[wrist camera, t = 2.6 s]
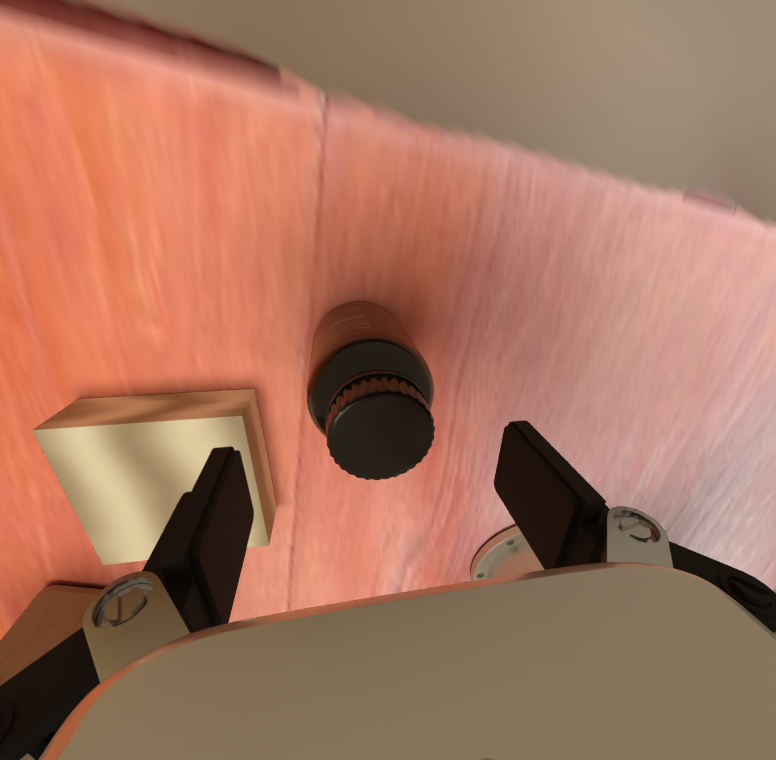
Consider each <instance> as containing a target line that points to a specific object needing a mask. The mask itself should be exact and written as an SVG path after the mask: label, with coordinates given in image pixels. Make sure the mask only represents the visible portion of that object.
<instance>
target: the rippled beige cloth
mask: <svg viewBox="0 0 776 760" xmlns="http://www.w3.org/2000/svg"><path fill="white" fill-rule="evenodd" d="M32 432H33V433H34V435H35V437H36V439H37V441H38V443H39V445H40V447H41V449H42V450H43V452H44V454H45V456H46V458H47V460H48V462H49V464H50V466H51V468H52V469H53V471H54V473H55V475H56V477H57V479H58V481H59V483H60V485H61V486H62V488H63V490H64V492H65V494H66V496H67V498H68V500H69V502H70V504H71V505H72V507H73V509H74V511H75V513H76V515H77V517H78V519H79V521H80V522H81V524H82V526H83V528H84V530H85V532H86V534H87V536H88V538H89V539H90V541H91V543H92V545H93V547H94V549H95V551H96V553H97V555H98V557H99V558H100V560H101V562H102V564H103V565H109V564H117V563H126V562H134V561H142V560H148V559H149V557H150V555H151V553H152V551H153V549H154V547H155V545H156V544H157V542H158V540H159V538H160V536H161V534H162V532H163V530H164V528H165V526H166V524H167V523H168V521H169V519H170V517H171V515H172V513H173V511H174V509H175V507H176V505H177V503H178V502H179V500H180V498H181V496H182V495H183V494H184V493H185V492H190V491H192V489H193V487H194V485H195V483H196V481H197V479H198V477H199V475H200V473H201V471H202V469H203V467H204V465H205V463H206V461H207V459H208V457H209V455H210V453H211V451H212V449H213V448H218V447H229V446H232V447H233V448H234V450H239V451H240V453H241V457H242V461H243V465H244V470H245V474H246V478H247V483H248V487H249V491H250V495H251V500H252V504H253V509H254V520H253V524H252V528H251V532H250V536H249V541H248V545H247V548H250V547H258V546H266V545H269V543H270V538H271V533H272V528H273V523H274V518H275V513H276V508H277V506H276V501H275V495H274V490H273V484H272V479H271V473H270V468H269V462H268V457H267V451H266V446H265V440H264V435H263V429H262V424H261V418H260V413H259V407H258V402H257V396H256V391H255V389H240V390H223V391H206V392H189V393H172V394H155V395H138V396H120V397H103V398H86V399H77V400H76V401H74V402H73V403H71V404H70V405H68V406H67V407H65V408H64V409H62V410H61V411H59V412H58V413H57V414H55V415H54V416H52V417H51V418H49V419H48V420H46V421H45V422H43V423H42V424H40V425H39V426H37V427H36V428H34V429H33V430H32Z"/></svg>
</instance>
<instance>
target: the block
mask: <svg viewBox="0 0 776 760" xmlns="http://www.w3.org/2000/svg"><path fill="white" fill-rule="evenodd" d="M102 590H103V589H95V588H84V587H74V586H64V585H51V586H47V587H45V588H44V589H43V590H41V591H40V592H39V593H38V594H37V596H36V597H35V598H34V599H33V600H32V602H31V603H30V604H29V605H28V607H27V608H26V609H25V610H24V612H23V613H22V614H21V615H20V617H19V618H18V619H17V620H16V622H15V623H14V624H13V625H12V627H11V628H10V629H9V630H8V632H7V633H6V634H5V635H4V637H3V638H2V639H1V640H0V686H1V685H2V684H3V683H5V682H6V681H8V680H9V679H10V678H12V677H13V676H15V675H16V674H17V673H19V672H20V671H22V670H23V669H24V668H26V667H27V666H29V665H30V664H31V663H33V662H34V661H36V660H37V659H38V658H40V657H41V656H43V655H44V654H45V653H47V652H48V651H50V650H51V649H52V648H54V647H55V646H57V645H58V644H59V643H61V642H62V641H64V640H65V639H66V638H68V637H69V636H71V635H72V634H73V633H75V632H76V631H78V630H79V629H80V628H82V627H83V617H84V614H85V612H86V609H87V607H88V606H89V605H90V603H91V602H92V600H93V599H94V598H95V597H96V596H97V595H98V594H99V593H100V592H101V591H102Z"/></svg>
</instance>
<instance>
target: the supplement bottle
mask: <svg viewBox="0 0 776 760" xmlns="http://www.w3.org/2000/svg"><path fill="white" fill-rule="evenodd" d="M433 397H434V384H433V378H432V375H431V372H430V370H429V367H428V365H427V364H426V362H425V360H424V358H423V357H422V355H421V354H420V353H419V351H418V350H417V348H416V347H415V345H414V344H413V343H412V341H411V340H410V338H409V337H408V335H407V334H406V333H405V331H404V330H403V328H402V327H401V325H400V324H399V323H398V321H397V320H396V319H395V318H394V317H393V316H392V315H391V314H390V313H389V312H388V311H386V310H385V309H383V308H381V307H379V306H377V305H374V304H371V303H365V302H354V303H348V304H345V305H342V306H340V307H338V308H336V309H334V310H332V311H331V312H330V313H328V314H327V315H326V316H325V317H324V318H323V320H322V321H321V322H320V324H319V326H318V327H317V329H316V332H315V335H314V338H313V344H312V351H311V359H310V367H309V375H308V383H307V405H308V410H309V413H310V415H311V418H312V420H313V422H314V424H315V425H316V427H317V428H318V429H319V430H320V432H321V433H322V434H323V435H324V436H325V437H326V438H327V447H328V448H329V450H330V455H331V456H332V457H333V458H334V461H335V463H336V464H338V465H340V467H341V469H343V470H346V471H347V472H348V473H349V474H351V475H355V476H356V477H357V478H364V479H366V480H370V479H374V480H379V479H388V478H390V477H397V476H398V475H400V474H403V473H406V472H407V471H408V470H409V469H412V468H414V467H415V466H416V464H418V463H419V462H421V461H422V459H423V457H424V456H426V455H427V453H428V450H429V449H430V447H431V446H432V441H433V439H434V434H433V433H434V431H435V426H434V424H433V423H434V418H433V416H432V414H431V412H430V409H431V406H432V402H433Z"/></svg>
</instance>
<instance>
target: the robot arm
mask: <svg viewBox="0 0 776 760" xmlns="http://www.w3.org/2000/svg"><path fill="white" fill-rule="evenodd" d="M494 486H495V490H496V492H497V493H498V495H499V497H500V498H501V500H502V502H503V503H504V505H505V506H506V508H507V510H508V511H509V513H510V515H511V516H512V518H513V519H514V521H515V523H516V524H517V526H515V527H512V528H510V529H507V530H505V531H504V532H502V533H500V534H498V535H497V536H495V537H494V538H493V539H491V540H490V541H489V542H488V543H487V544H486V545H484V546H483V547H482V548H481V550H480V551H479V553H478V554H477V555H476V557H475V559H474V561H473V563H472V567H471V579H472V581H470V582H464V583H457V584H451V585H445V586H439V587H432V588H426V589H420V590H414V591H408V592H402V593H395V594H389V595H383V596H377V597H371V598H365V599H359V600H353V601H347V602H341V603H335V604H329V605H323V606H317V607H311V608H305V609H299V610H294V611H289V612H283V613H278V614H272V615H267V616H261V617H256V618H251V619H245V620H240V621H236V622H232V623H228V622H229V618H230V614H231V610H232V606H233V602H234V598H235V594H236V590H237V586H238V582H239V577H240V573H241V569H242V565H243V561H244V557H245V553H246V549H247V545H248V541H249V536H250V532H251V528H252V524H253V520H254V509H253V504H252V500H251V495H250V491H249V487H248V483H247V478H246V474H245V470H244V465H243V461H242V457H241V453H240V451H239V450H234V448H233V447H232V446H229V447H218V448H213V449H212V451H211V453H210V455H209V457H208V459H207V461H206V463H205V465H204V467H203V469H202V471H201V473H200V475H199V477H198V479H197V481H196V483H195V485H194V487H193V489H192V491H190V492H185V493H184V494H183V495H182V496H181V498H180V500H179V502H178V503H177V505H176V507H175V509H174V511H173V513H172V515H171V517H170V519H169V521H168V523H167V524H166V526H165V528H164V530H163V532H162V534H161V536H160V538H159V540H158V542H157V544H156V545H155V547H154V549H153V551H152V553H151V555H150V557H149V559H148V561H147V563H146V565H145V566H144V568H143V570H142V571H139V572H134V573H131V574H128V575H125V576H123V577H121V578H119V579H117V580H115V581H114V582H112V583H111V584H109V585H108V586H107V587H105V588H104V589H103V590H102V591H101V592H100V593H99V594H98V595H97V596H96V597H95V598H94V599H93V600H92V602H91V603H90V605H89V606H88V607H87V609H86V612H85V614H84V617H83V627H82V628H80V629H79V630H78V631H76V632H75V633H73V634H72V635H71V636H69V637H68V638H66V639H65V640H64V641H62V642H61V643H59V644H58V645H57V646H55V647H54V648H52V649H51V650H50V651H48V652H47V653H45V654H44V655H43V656H41V657H40V658H38V659H37V660H36V661H34V662H33V663H31V664H30V665H29V666H27V667H26V668H24V669H23V670H22V671H20V672H19V673H17V674H16V675H15V676H13V677H12V678H10V679H9V680H8V681H6V682H5V683H3V684H2V685H1V686H0V760H776V593H775V592H774V591H772V590H771V589H770V588H769V587H768V586H766V585H765V584H764V583H762V582H761V581H759V580H758V579H756V578H754V577H753V576H751V575H749V574H747V573H745V572H743V571H740V570H738V569H735V568H733V567H730V566H728V565H726V564H723V563H721V562H718V561H716V560H713V559H711V558H709V557H706V556H704V555H701V554H699V553H696V552H694V551H692V550H689V549H687V548H684V547H682V546H679V545H677V544H675V543H672V542H670V541H668V537H667V534H666V532H665V530H664V529H663V528H662V526H661V525H660V524H659V523H658V522H657V521H655V520H654V519H653V518H652V517H650V516H648V515H647V514H645V513H643V512H641V511H638V510H636V509H633V508H629V507H622V506H618V507H613V508H612V509H609V508H608V507H607V506H606V505H605V502H606V501H605V500H604V499H603V498H602V497H601V496H600V494H599V493H598V492H597V491H596V490H595V489H594V488H593V487H592V486H591V485H590V484H589V483H588V482H587V481H586V480H585V479H584V478H583V477H582V476H581V475H580V474H579V473H578V472H577V471H576V470H575V469H574V468H573V467H572V466H571V465H570V464H569V463H568V462H567V461H566V460H565V459H564V458H563V457H562V456H561V455H560V454H559V453H558V452H557V451H556V450H555V449H554V448H553V447H552V446H551V445H550V443H549V442H548V441H547V440H546V439H545V438H544V437H543V436H542V435H541V434H540V433H539V432H538V431H537V430H536V429H535V428H534V427H533V426H532V425H531V424H530V423H529V422H528V421H525V420H524V421H513V422H510V423H509V424H508V426H506V427H505V428H504V433H503V438H502V443H501V448H500V453H499V458H498V464H497V469H496V474H495V479H494Z"/></svg>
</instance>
